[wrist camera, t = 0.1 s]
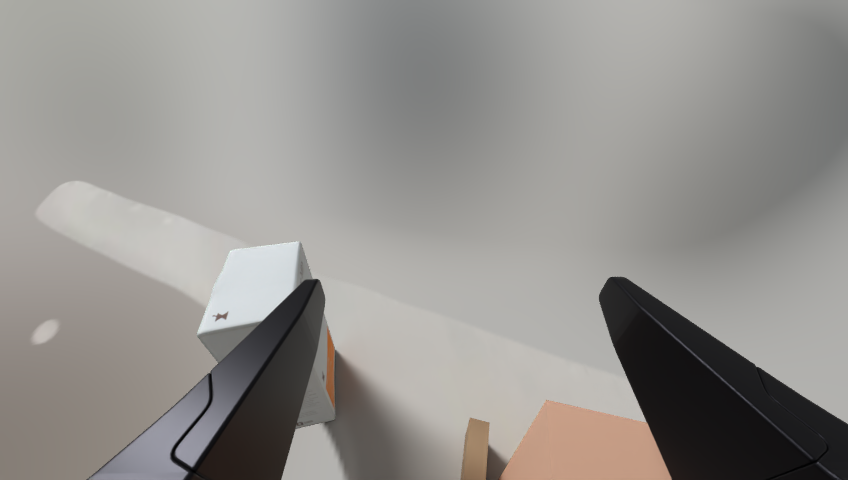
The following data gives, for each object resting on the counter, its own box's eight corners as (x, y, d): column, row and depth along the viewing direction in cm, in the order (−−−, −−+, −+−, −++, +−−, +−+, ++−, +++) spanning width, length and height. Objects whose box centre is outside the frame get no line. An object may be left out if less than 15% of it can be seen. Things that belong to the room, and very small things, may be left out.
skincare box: (337, 420, 22) (292, 319, 14) (274, 436, 21) (189, 337, 13) (336, 345, 26) (301, 238, 19) (284, 355, 26) (226, 248, 18)
